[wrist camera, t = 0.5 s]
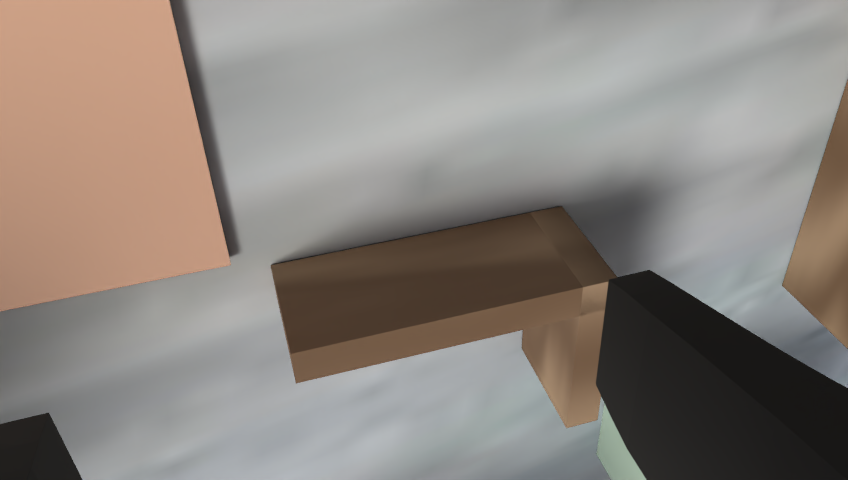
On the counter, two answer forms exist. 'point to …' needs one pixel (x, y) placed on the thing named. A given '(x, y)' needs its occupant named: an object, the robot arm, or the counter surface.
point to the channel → (519, 291)
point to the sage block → (615, 452)
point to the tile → (98, 152)
